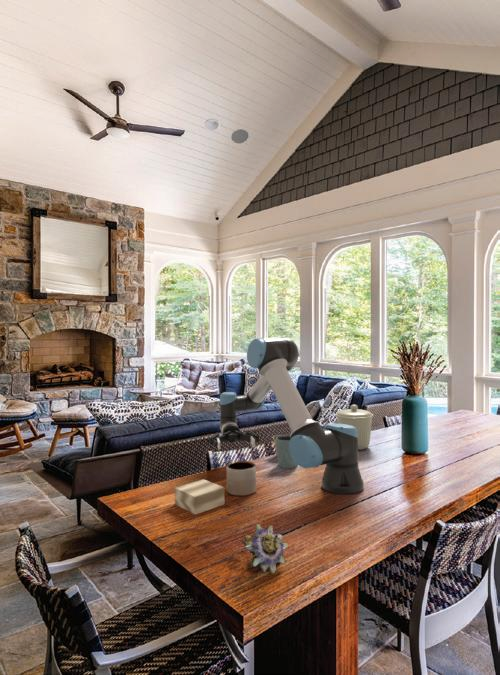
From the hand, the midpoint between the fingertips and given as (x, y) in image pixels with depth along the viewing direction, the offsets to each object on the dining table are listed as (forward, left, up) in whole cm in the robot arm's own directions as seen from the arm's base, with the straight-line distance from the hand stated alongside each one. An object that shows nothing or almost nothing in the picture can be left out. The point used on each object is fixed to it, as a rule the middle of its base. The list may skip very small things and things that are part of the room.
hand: (236, 444), depth 172 cm
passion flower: (-53, +32, -15) cm, 63 cm away
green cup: (+2, -29, -15) cm, 33 cm away
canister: (0, -72, -15) cm, 74 cm away
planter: (-9, +5, -15) cm, 18 cm away
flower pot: (+14, -37, -15) cm, 42 cm away
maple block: (-9, +23, -15) cm, 29 cm away
